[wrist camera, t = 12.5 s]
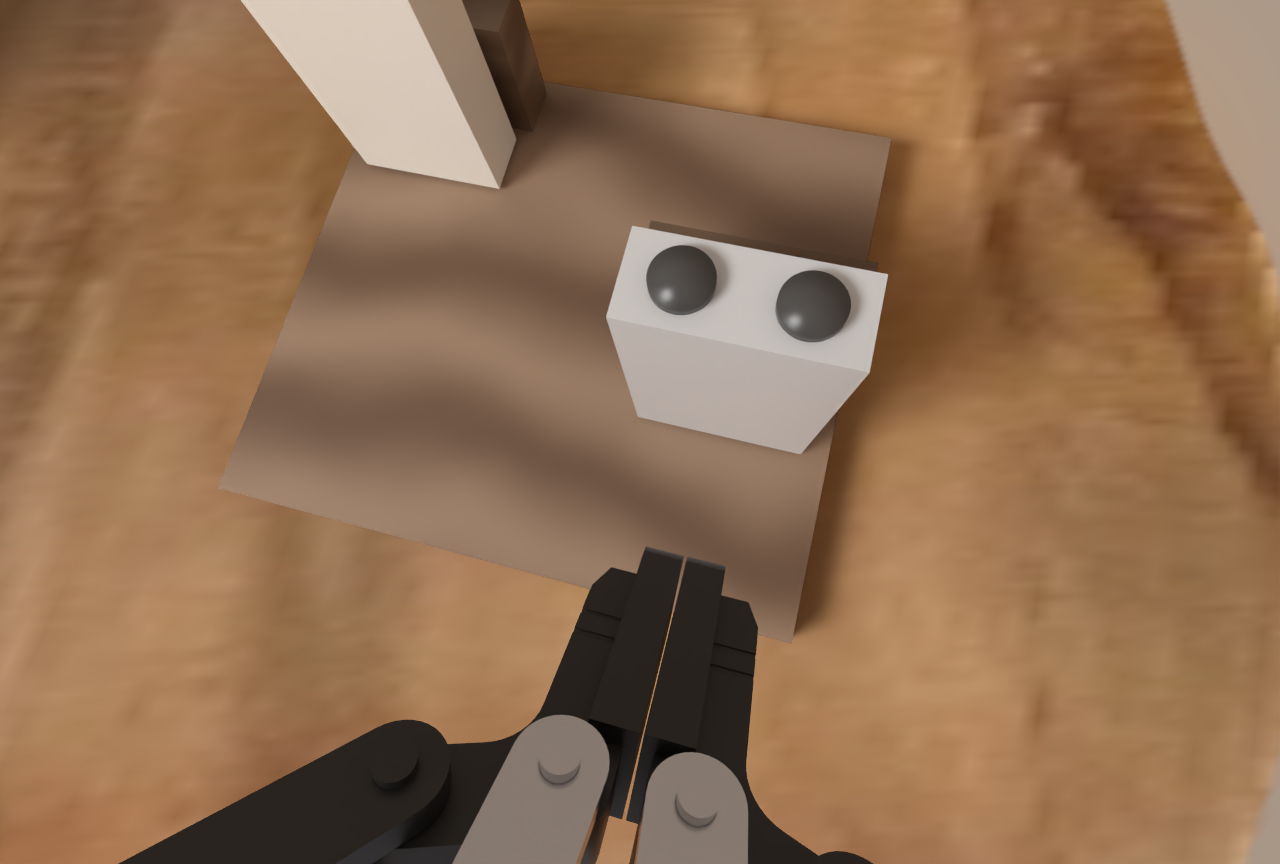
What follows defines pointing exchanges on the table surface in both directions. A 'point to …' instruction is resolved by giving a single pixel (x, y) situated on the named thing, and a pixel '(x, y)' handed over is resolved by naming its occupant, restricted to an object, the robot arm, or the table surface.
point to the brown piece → (549, 341)
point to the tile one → (398, 82)
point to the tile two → (741, 337)
